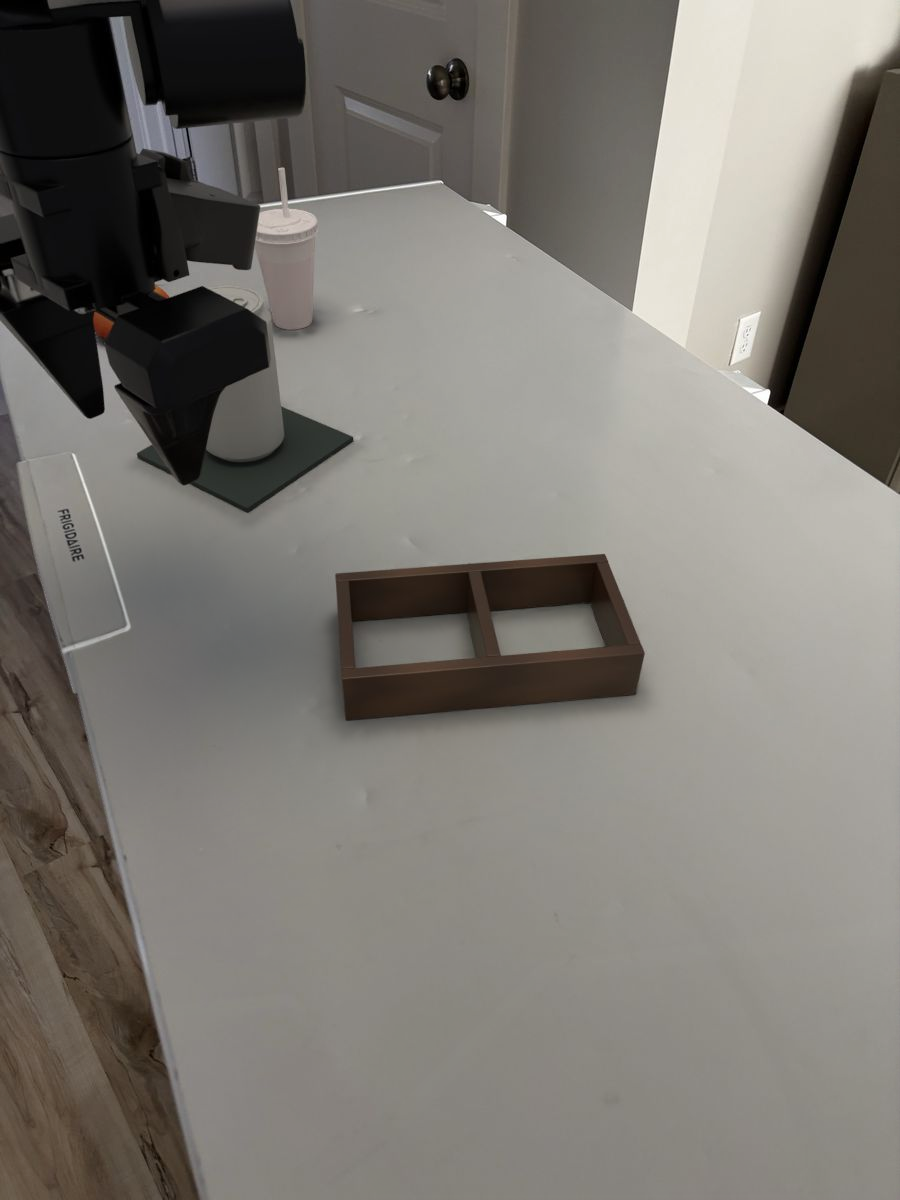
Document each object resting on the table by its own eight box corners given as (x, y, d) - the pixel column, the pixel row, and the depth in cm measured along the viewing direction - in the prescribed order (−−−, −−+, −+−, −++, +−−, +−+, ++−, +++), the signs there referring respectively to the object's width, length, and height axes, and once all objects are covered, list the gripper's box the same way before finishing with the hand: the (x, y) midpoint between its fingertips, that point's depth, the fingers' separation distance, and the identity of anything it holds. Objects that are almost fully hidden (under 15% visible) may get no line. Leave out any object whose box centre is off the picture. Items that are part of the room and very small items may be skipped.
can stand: (345, 720, 53) (341, 679, 51) (338, 614, 60) (335, 573, 57) (636, 694, 55) (645, 653, 53) (598, 593, 62) (605, 553, 59)
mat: (137, 457, 73) (136, 453, 72) (246, 395, 80) (246, 391, 80) (247, 512, 68) (247, 508, 67) (353, 440, 75) (353, 436, 75)
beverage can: (210, 423, 76) (184, 281, 68) (289, 423, 76) (273, 281, 68) (197, 468, 71) (167, 320, 63) (281, 467, 71) (262, 320, 63)
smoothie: (339, 317, 91) (328, 167, 82) (297, 342, 87) (281, 187, 78) (288, 301, 94) (273, 154, 84) (246, 325, 90) (224, 173, 80)
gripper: (349, 147, 40) (366, 455, 50) (112, 67, 49) (168, 341, 59) (119, 213, 34) (193, 548, 44) (-101, 108, 43) (3, 404, 53)
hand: (140, 446), depth 50 cm, fingers open, 9 cm apart
